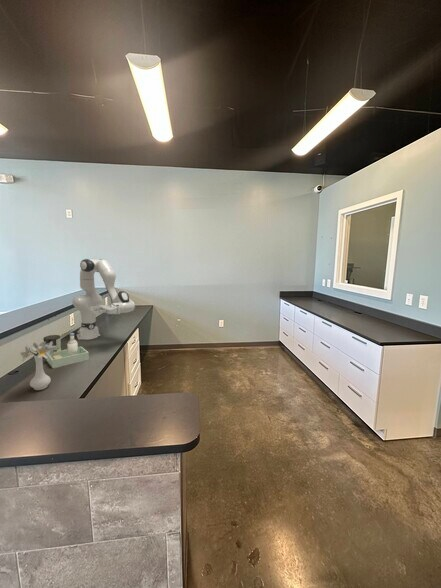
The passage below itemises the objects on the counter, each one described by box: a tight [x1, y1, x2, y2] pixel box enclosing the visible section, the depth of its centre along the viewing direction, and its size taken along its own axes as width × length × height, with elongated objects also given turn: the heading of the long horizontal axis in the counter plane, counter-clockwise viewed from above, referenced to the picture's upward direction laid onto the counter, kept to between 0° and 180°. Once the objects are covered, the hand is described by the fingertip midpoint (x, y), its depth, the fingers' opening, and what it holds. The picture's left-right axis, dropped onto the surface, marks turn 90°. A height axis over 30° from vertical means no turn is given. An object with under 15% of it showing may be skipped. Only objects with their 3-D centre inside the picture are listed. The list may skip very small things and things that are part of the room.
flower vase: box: [20, 341, 57, 391], centre depth 136 cm, size 13×18×25 cm
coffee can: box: [43, 334, 62, 352], centre depth 180 cm, size 10×10×14 cm
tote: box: [46, 346, 90, 369], centre depth 172 cm, size 16×22×6 cm
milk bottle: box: [66, 332, 79, 356], centre depth 173 cm, size 6×6×19 cm
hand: (96, 310), depth 188 cm, fingers open, 8 cm apart
